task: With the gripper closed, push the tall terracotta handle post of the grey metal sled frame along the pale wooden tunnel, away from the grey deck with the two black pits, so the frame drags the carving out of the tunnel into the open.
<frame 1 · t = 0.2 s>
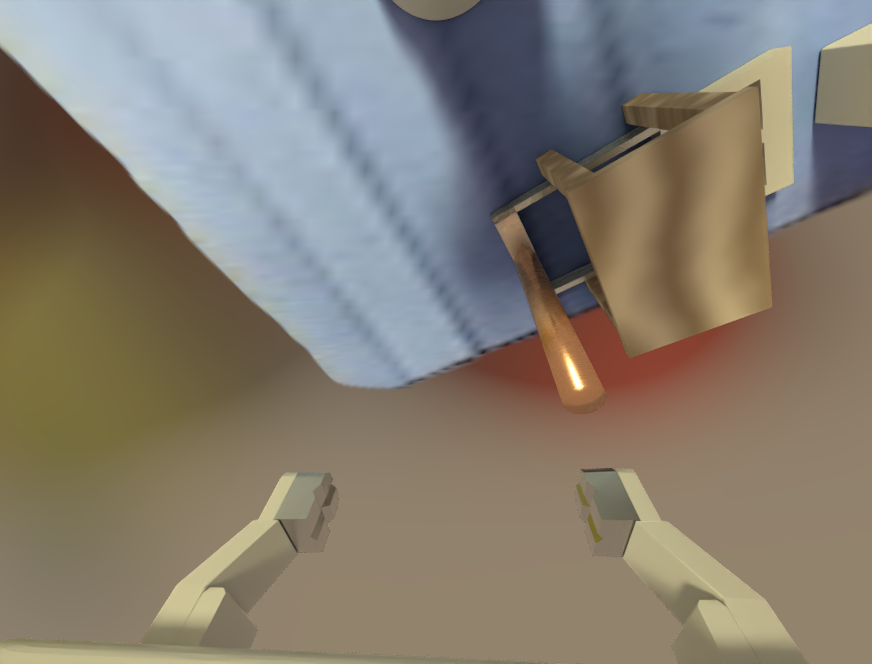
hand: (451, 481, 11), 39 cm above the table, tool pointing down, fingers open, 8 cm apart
pit deck: (728, 148, 37), on the table
milk carton: (857, 67, 33), on the table
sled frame: (628, 263, 32), point 14 cm above the table, slide at 0.0 cm
tunnel: (609, 205, 42), on the table
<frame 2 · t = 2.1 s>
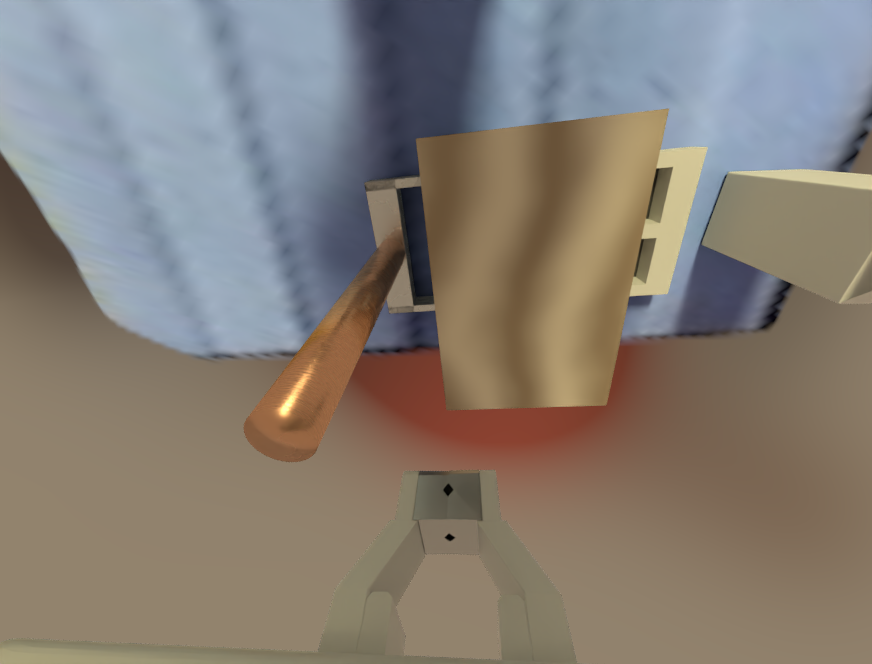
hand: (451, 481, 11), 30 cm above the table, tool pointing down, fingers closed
pit deck: (626, 229, 34), on the table
milk carton: (747, 208, 33), on the table
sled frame: (477, 289, 24), point 14 cm above the table, slide at 0.0 cm
tunnel: (502, 237, 36), on the table
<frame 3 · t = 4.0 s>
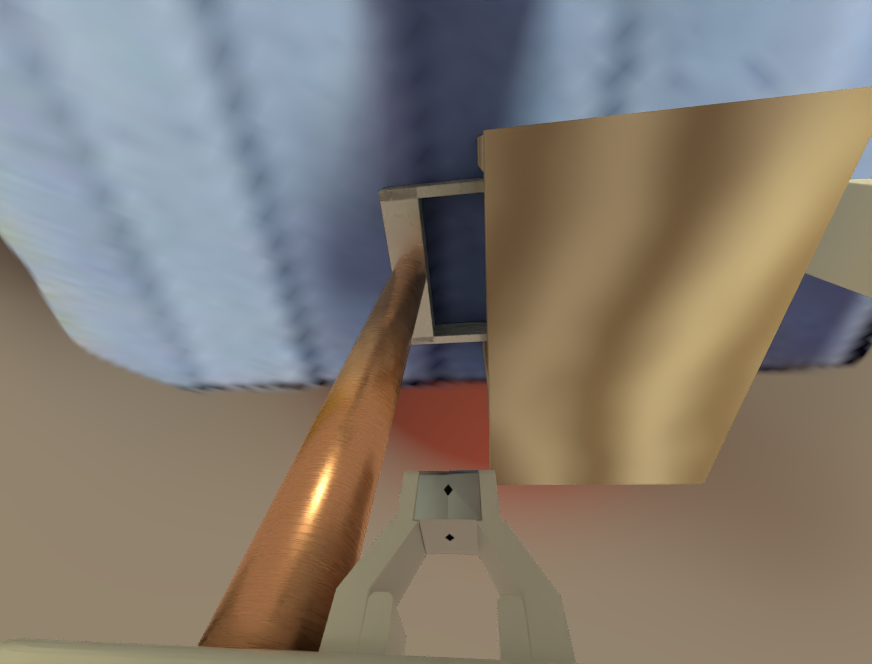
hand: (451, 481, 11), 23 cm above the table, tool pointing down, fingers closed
milk carton: (849, 224, 27), on the table
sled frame: (535, 336, 18), point 14 cm above the table, slide at 0.4 cm, touching gripper
tunnel: (546, 256, 30), on the table
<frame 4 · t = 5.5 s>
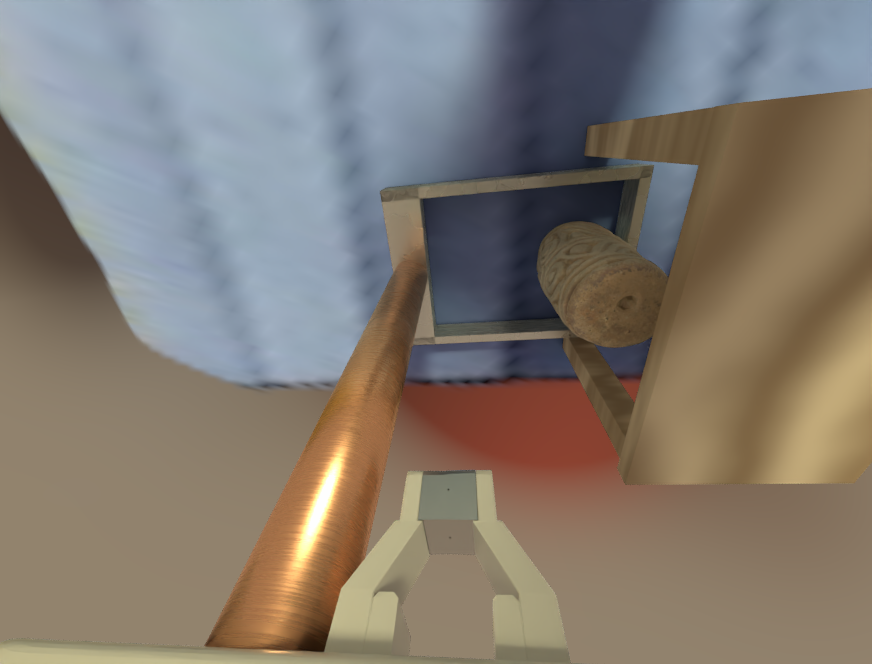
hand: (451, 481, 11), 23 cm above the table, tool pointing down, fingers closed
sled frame: (538, 337, 18), point 14 cm above the table, slide at 8.7 cm, touching carving, gripper
carving: (567, 252, 30), on the table, touching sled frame
tunnel: (642, 249, 29), on the table
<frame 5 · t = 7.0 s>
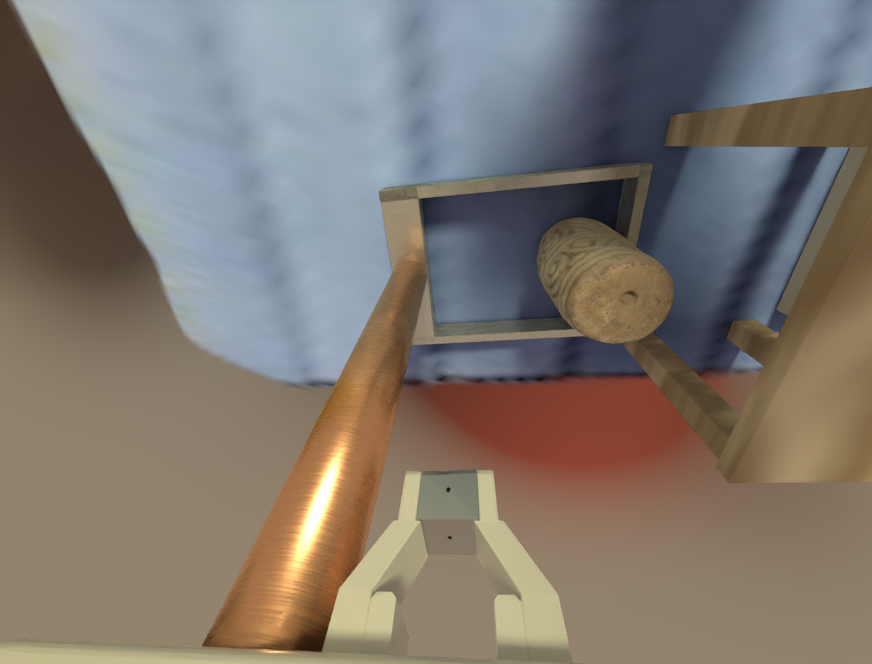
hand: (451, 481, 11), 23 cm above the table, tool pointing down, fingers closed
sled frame: (537, 336, 18), point 14 cm above the table, slide at 14.7 cm, touching carving, gripper
carving: (567, 249, 30), on the table, touching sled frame
tunnel: (714, 243, 29), on the table
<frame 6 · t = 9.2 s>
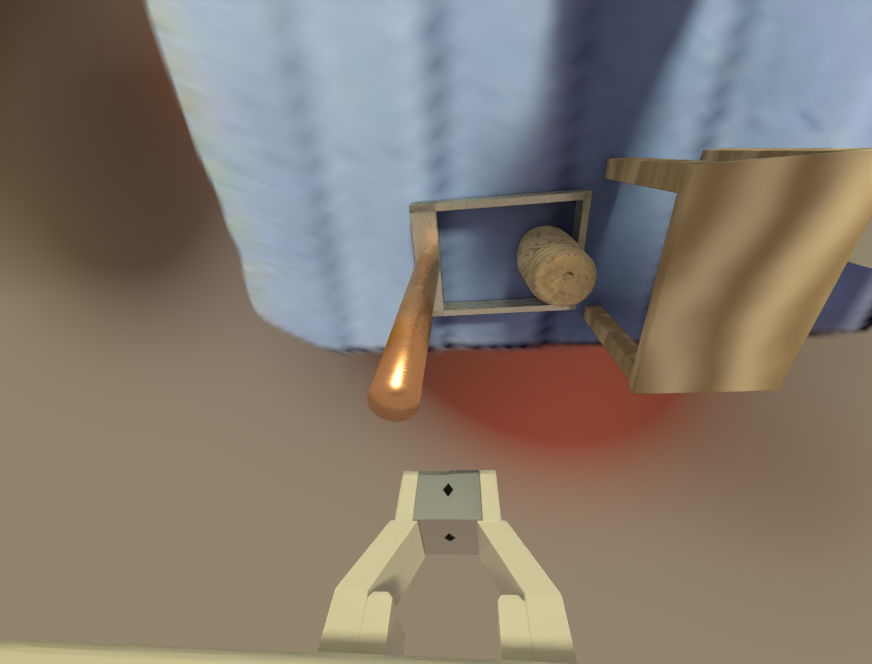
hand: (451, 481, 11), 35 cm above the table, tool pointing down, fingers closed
milk carton: (866, 223, 38), on the table
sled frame: (511, 298, 30), point 14 cm above the table, slide at 14.9 cm
carving: (540, 247, 42), on the table
tunnel: (644, 244, 41), on the table
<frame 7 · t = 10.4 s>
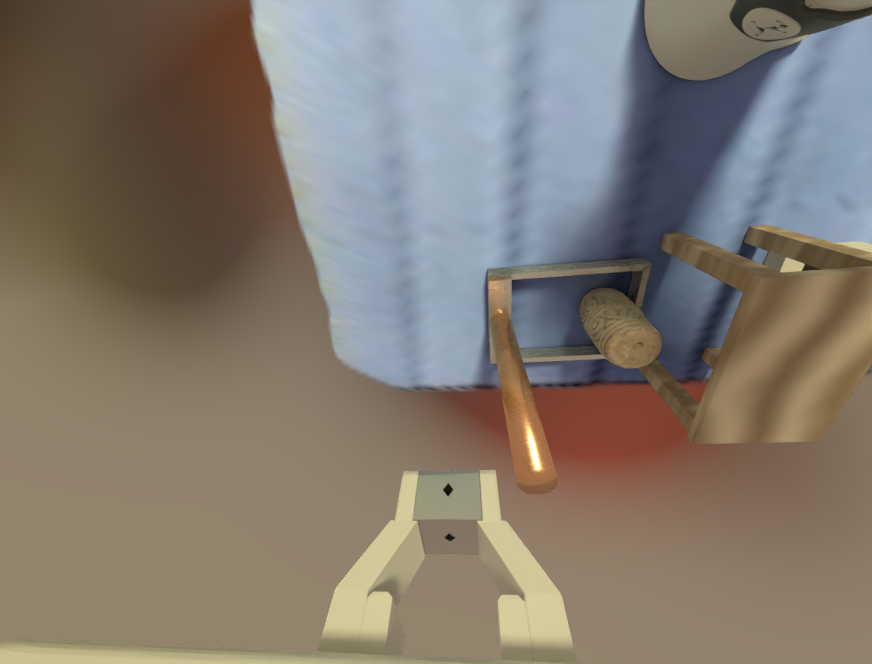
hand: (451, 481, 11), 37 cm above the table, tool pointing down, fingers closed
pit deck: (798, 299, 44), on the table
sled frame: (591, 367, 36), point 14 cm above the table, slide at 14.9 cm
carving: (597, 304, 47), on the table
tunnel: (691, 301, 46), on the table
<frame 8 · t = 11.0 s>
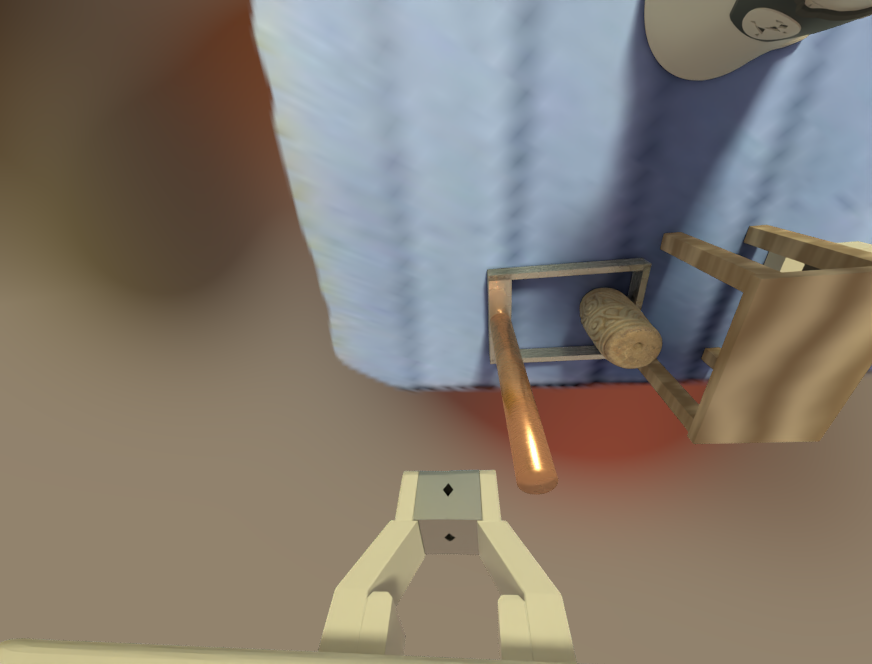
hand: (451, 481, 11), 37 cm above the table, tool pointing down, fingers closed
pit deck: (798, 299, 44), on the table
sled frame: (591, 367, 36), point 14 cm above the table, slide at 14.9 cm
carving: (597, 304, 47), on the table
tunnel: (691, 301, 46), on the table
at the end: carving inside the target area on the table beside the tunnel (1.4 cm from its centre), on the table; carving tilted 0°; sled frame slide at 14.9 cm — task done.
